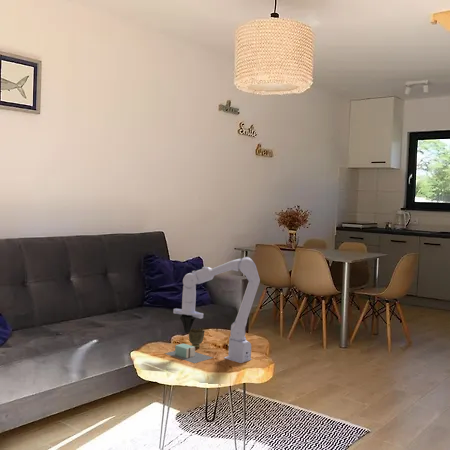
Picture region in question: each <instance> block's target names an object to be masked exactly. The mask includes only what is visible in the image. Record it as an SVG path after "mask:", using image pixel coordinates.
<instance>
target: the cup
mask: <svg viewBox="0 0 450 450" xmlns="http://www.w3.org/2000/svg"><path fill="white" fill-rule="evenodd" d="M204 336H205V329H203V328H198V329H197V328H192V327H191V330H190V332H189V333H188V340H189V342H190V344H191V346H194V347H195V348H200V346H201V344H202V343H203V342H204Z"/></svg>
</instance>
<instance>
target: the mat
mask: <svg viewBox="0 0 450 450" xmlns="http://www.w3.org/2000/svg"><path fill="white" fill-rule="evenodd" d="M164 354H165V355H168V356H171V357H174V358H176V359H180V360H182V361H186V362H189V363H192V364H198V363H201V362H204V361H208V360H211V359H214V357H213V356H211V355H210V356H209V355H206V354H203V353H200V352H196V351H195V356H193V357H189V358H184V357H181V356H178V355H175V350H172V351H168V352H165V353H164Z"/></svg>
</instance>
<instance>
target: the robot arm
mask: <svg viewBox="0 0 450 450" xmlns="http://www.w3.org/2000/svg"><path fill="white" fill-rule="evenodd" d="M230 271H234V272H239V271H240V272H241V273H242V274H243V275H244V276H245V278H246V280H247V281H248V283H247V286H246V289H245V291H244V294H243V297H242V301H241V304H240V306H239V309H238V313H237V315H236V317H235V320H234V322H232V323H231V325H230V335H229V337H228V356H225V357H223V358H224V359H226V360H229V361H232V362H236V363H239V364H242V363H245V362H248V361H251V360H253V359H252V343H251V342H250V341H248V340H247V337H246V326H247V323H248V318H249V316H250V313H251V309H252V307H253V303H254V300H255V297H256V294H257V291H258V289H259V285H260V282H261V279H260V278H261V277H260V276H259V272H258V268H257V265H256V263H255V262H254V260H253V259H252V258H251V257H249V256H244V257H242V258H237V259H232V260H229V261H228V262H225V263H223V264H219V265H218V266H215V267H213V268H212V267H209V266H202V268H201V269H197V270H191V272H189V273H186V274H185V275H184V276H183V279H182V284H183V286H182V298H181V300H182V301H181V308H173V314H176V315H181V316H179V318H180V320H181V322H182V325H183V330H184V333H186V334H189V332H190V330H192V326H193V324H194V322H195V321H196V319H200V320H201V319H204V313H203V312H199V311H197V310H196V301H197V300H196V299H197V290H196V289H197V285H201V284H203V283H206V282H208V281H209V282H210V281H212V280H213V279H214V277H215V276H217V275H219V274H223V273H226V272H230Z"/></svg>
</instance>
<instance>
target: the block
mask: <svg viewBox="0 0 450 450" xmlns="http://www.w3.org/2000/svg"><path fill="white" fill-rule="evenodd" d="M174 347H175V350H174V351H175V355H178V356H181V357H184V358H189V357H193V356H195V352H196V347H194V346H192V344H191V345H190V344H186V343H179V344H175V346H174Z"/></svg>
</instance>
